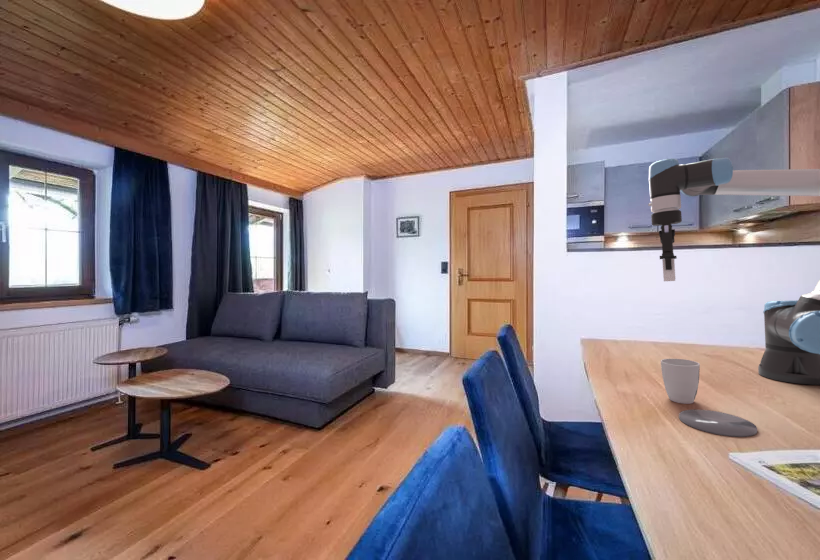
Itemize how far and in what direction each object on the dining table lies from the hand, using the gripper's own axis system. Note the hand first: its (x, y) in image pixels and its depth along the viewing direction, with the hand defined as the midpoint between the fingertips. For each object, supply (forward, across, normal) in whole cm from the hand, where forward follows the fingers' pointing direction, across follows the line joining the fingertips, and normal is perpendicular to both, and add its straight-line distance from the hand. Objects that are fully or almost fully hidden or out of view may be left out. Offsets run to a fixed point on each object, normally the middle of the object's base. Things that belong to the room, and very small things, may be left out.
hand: (669, 280), depth 109 cm
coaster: (+31, +33, +7) cm, 46 cm away
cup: (+31, +20, +1) cm, 37 cm away
